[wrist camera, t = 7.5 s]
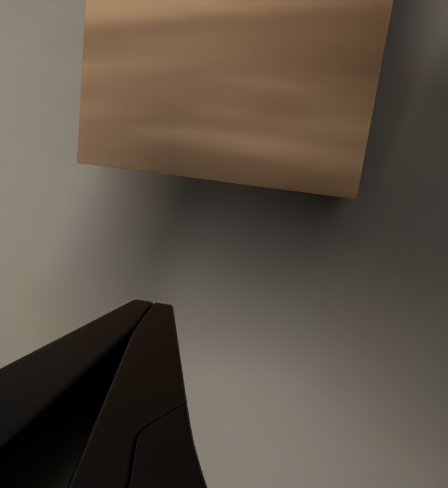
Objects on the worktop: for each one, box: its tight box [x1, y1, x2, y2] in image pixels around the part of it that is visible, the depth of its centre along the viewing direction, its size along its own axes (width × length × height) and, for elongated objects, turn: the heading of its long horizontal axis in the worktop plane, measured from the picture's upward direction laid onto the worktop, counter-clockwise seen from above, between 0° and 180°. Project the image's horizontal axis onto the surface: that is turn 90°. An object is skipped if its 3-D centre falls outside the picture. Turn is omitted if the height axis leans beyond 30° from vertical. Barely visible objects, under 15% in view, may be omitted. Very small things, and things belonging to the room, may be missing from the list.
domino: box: [77, 0, 393, 199], centre depth 16 cm, size 2×11×12 cm
